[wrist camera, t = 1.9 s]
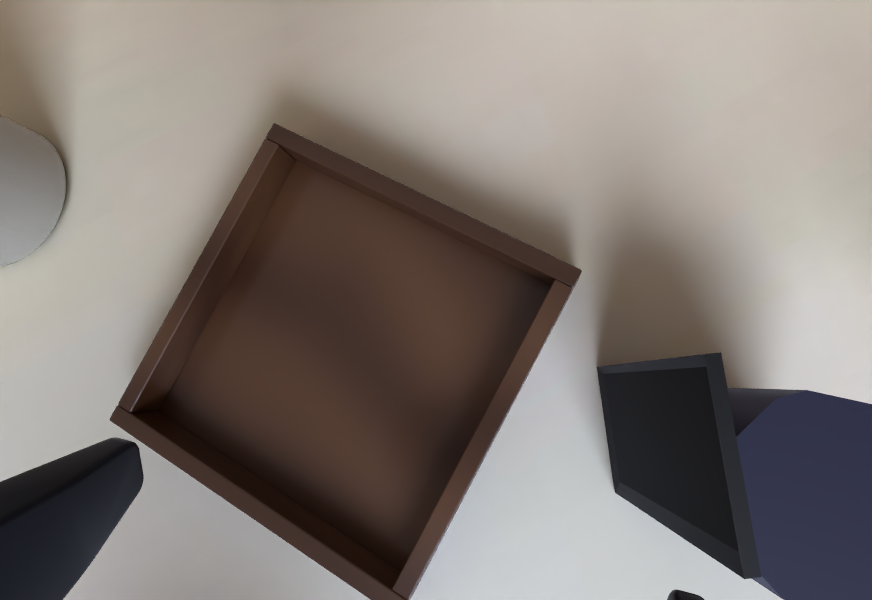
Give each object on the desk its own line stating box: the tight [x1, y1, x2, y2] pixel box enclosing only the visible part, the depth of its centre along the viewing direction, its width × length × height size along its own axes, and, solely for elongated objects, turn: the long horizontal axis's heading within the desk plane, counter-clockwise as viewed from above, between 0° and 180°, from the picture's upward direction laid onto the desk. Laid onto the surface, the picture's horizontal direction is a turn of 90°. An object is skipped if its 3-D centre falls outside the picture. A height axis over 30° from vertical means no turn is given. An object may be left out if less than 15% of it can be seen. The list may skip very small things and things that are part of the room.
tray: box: [110, 124, 582, 600], centre depth 25 cm, size 16×16×3 cm
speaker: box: [597, 353, 872, 600], centre depth 18 cm, size 8×6×10 cm
